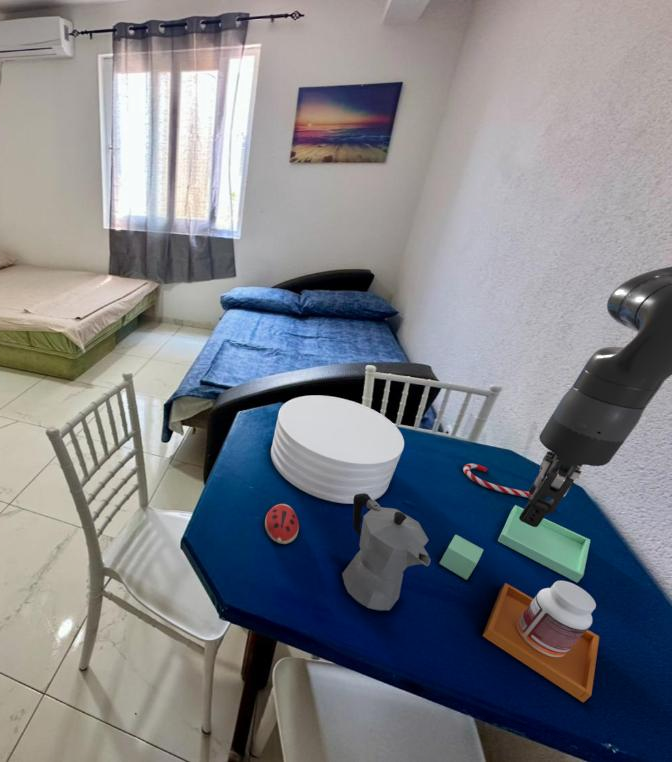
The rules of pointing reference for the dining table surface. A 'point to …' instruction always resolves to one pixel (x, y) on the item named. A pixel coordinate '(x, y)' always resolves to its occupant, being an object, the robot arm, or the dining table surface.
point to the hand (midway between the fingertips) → (532, 508)
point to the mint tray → (547, 544)
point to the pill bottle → (556, 618)
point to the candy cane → (490, 485)
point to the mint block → (461, 557)
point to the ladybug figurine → (282, 524)
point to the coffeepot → (382, 553)
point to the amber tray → (563, 671)
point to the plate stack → (335, 448)
